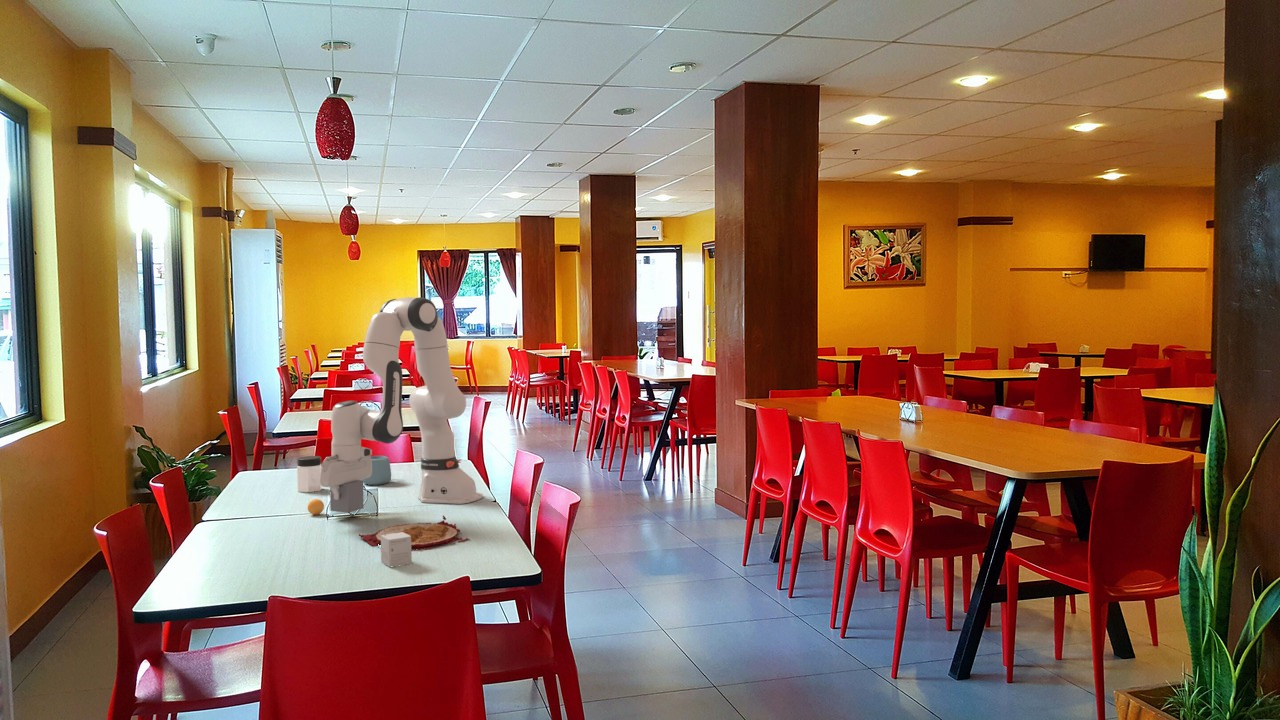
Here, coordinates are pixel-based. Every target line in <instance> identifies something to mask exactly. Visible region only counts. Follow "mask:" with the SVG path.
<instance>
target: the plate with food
mask: <svg viewBox="0 0 1280 720" xmlns="http://www.w3.org/2000/svg"><path fill="white" fill-rule="evenodd" d="M442 519H443V520H440V521H438V522H437V523H435V522H434V523H433V522H432V523H431V522H422V523H421V522H418V523H405V524H397V525H393V526H389V527H386V528H384V529H381V530H378V531H376V532H375V533H372V534H360V533H358V537H360V538H362V539H363V541H366V543H368V545H370V546H372V547H378V544H379V545H381V535H386V534H392V533H400V532H404V533H406V534H408V535H410V536H411V552H416V551H422V549H423V550H424V551H428V550H429V551H430V550H431V549H432V548H436V547H440V546H445V545H448V543H449V544H450V545H452V543H453V542H456V541H457V543H464V541H471V539H470V538H467V537H465V539H464V538H462V537H457V536H459V534H460V535H462V532H461V530H460V529H459V528H457V524H456V523H454V524H452V523H449V522H445V521H446V520H447V518H446V516H445V515H444V514H443V515H442ZM455 544H456V543H453V545H455ZM431 547H432V548H431ZM425 548H426V549H425ZM414 549H415V550H416V549H418V550H416V551H415V550H414ZM412 550H414V551H412Z"/></svg>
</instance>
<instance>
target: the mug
mask: <svg viewBox="0 0 1280 720" xmlns="http://www.w3.org/2000/svg"><path fill="white" fill-rule="evenodd" d="M370 457H371V459H372V474H371V476H370V477H369V478H365V479H362V481H363V485H364V484H365V485H367V484H368V486H380V485H385V484H388V483H389V482H390V481H391V480H392V469H391V461H390V457H388V456H385V455H371V456H370Z"/></svg>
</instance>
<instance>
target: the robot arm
mask: <svg viewBox="0 0 1280 720" xmlns="http://www.w3.org/2000/svg"><path fill="white" fill-rule="evenodd" d="M406 331H411V333H412V335H413V336H414V337H413V338H414V341H413V342H414V352H415V361H416V369H417V373H418V374H419V375H420V377H422V380H423V381H424V384H425V385H422V386H418V387H416V388H414V389H413V390H412V392H411V393H410V395H409V399H408V401H409V403H408V404H409V406H410V408H411V410H412V411H413V412H414V414H415V417H416V419H417V424H418V426H419V427H418V428H419V431H420V437H421V458H420V469H421V481H420V482H421V483H420V489H419V492H418V493H419V494H418V496H417V499H418V500H420V502H421V503H431V504H432V503H433V504H456V505H458V504H459V505H461V504H468V503H472V502H473V503H474V502H476V501H478V500H481V499H482V498H483V497H484V493H480V492H478V491H477V487H476V482H475V479H473V478H472V477H471V476H470V475H468V473H466V472H465V471H464V470H463V469H462V468H460V463H462V459H461V458H460V459H457V457H456V456H455V434H454V432H453V430H452V429H451V427H450V425H449V423H448V420H451V419H455V418H458V417H460V416H462V415H463V413H465V411H466V408H467V399H466V395H465V394H464V393H463V392H462V391H461V389H459V386H458V383H456V379H455V377H454V375H453V371H452V368H451V364H450V356H449V355H450V354H449V348H448V347H449V345H448V340H447V334H446V330H445V326H444V322H443V320H442V319H441V318H440V317H439V316H438V310H437V308H436V305H435V304H434V302H433V301H431V299H428V298H425V297H420V296H419V297H415V296H414V297H413V296H412V297H410V296H407V297H402V298H393V299H390V300H388V301H386V302H384V303H383V304H382V306H380V309H379V312H376V313H375V314H373V316H372V317H371V319H370V322H369V324H368V327H367V331H366V335H365V338H364V339H365V340H364V343H363V350H362V359H363V363H364V364H365V366H366V367H367V369H368V370H369V371H371V372H372V373H374V374H375V375H377V376H378V377H379V378H380V380H381V382H382V401H381V402H382V404H381V409H380V410H374V409H370V408H367V407H365V406H363V405H361V404H359V402H358V401H357V400H345V401H340V402H338V403H336V404H335V405H334V406H333V407H332V411H331V412H332V413H331V417H330V418H331V420H330V423H331V424H330V427H331V428H330V432H331V434H332V439H331V450H330V451H331V456H326V457H325V459H324V460H323V461H322V462H321V475H320V484H321V486H322V488H330V487H331V490H332V492H333V494H334V499H336V500H338V499H341V493H339V491H338V489H339V485H341V484H345V483H349V482H353V481H357V480H360V481H362V479H365V478H369V477H370V476H371V474H372V459H371V457H370V456H373V449H372V448H368V447H364V446H362V440H368V441H373V442H375V441H376V442H378V443H382V444H388V445H389V444H392V443H394V442H396V441H397V440H398V439H399V437H401V435H402V432H403V430H404V421H403V414H402V413H403V412H402V407H403V406H402V401H403V369H402V365H401V364H400V360H399V353H400V345H401V344H400V343H401V336H402V334H403V333H404V332H406Z"/></svg>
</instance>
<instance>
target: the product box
mask: <svg viewBox="0 0 1280 720" xmlns="http://www.w3.org/2000/svg"><path fill="white" fill-rule="evenodd" d="M411 550H412V549H411V536H410V535H408V534H406V533H404V532H400V533H392V534H386V535H381V548H380V551H381V552H380V563H382V564H383V563H384V564H383V565H385V566H386V565H387V566H386V567H388V566H389V567H388V568H392V567H391V566H396V567H400V566H399V565H402V566H405V564H408V565H411V564H412V563H413V562H412V559H413V557H412V555H413V553H412V551H411Z"/></svg>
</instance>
